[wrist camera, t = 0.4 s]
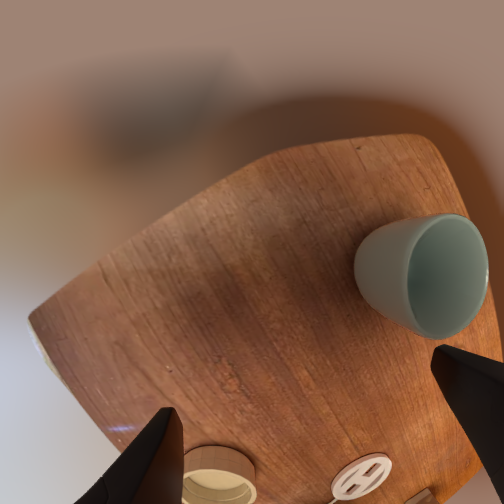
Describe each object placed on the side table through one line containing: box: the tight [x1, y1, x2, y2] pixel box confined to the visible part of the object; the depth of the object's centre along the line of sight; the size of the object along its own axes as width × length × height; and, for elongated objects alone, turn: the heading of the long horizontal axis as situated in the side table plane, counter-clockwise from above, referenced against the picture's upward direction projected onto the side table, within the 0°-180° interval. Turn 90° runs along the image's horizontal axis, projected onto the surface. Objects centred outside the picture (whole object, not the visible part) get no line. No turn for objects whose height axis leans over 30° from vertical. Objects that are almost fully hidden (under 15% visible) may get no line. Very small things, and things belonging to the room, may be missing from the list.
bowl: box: [182, 446, 257, 504], centre depth 22 cm, size 8×8×4 cm
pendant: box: [327, 453, 392, 504], centre depth 24 cm, size 7×11×1 cm, turn 149°
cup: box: [354, 213, 489, 340], centre depth 19 cm, size 8×8×10 cm
